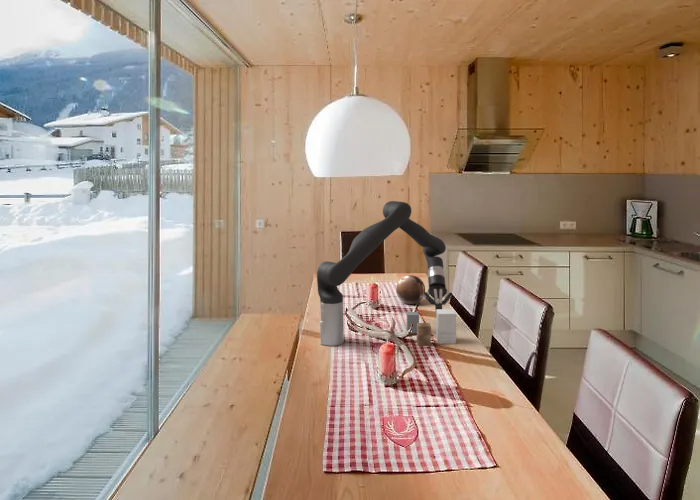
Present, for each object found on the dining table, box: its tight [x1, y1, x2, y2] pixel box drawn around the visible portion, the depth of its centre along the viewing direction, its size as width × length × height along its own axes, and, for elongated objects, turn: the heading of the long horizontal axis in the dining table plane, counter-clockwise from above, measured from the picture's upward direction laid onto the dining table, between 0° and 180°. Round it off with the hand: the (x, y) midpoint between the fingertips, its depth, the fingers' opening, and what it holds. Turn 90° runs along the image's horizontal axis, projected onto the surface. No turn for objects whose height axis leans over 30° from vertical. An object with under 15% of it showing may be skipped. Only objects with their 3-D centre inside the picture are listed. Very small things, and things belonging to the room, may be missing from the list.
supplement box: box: [435, 308, 457, 345], centre depth 215 cm, size 7×7×13 cm
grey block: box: [406, 311, 420, 334], centre depth 230 cm, size 5×5×8 cm
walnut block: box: [416, 322, 432, 347], centre depth 213 cm, size 5×5×8 cm
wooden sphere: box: [395, 274, 426, 305], centre depth 277 cm, size 15×15×15 cm
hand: (439, 312), depth 230 cm, fingers closed
